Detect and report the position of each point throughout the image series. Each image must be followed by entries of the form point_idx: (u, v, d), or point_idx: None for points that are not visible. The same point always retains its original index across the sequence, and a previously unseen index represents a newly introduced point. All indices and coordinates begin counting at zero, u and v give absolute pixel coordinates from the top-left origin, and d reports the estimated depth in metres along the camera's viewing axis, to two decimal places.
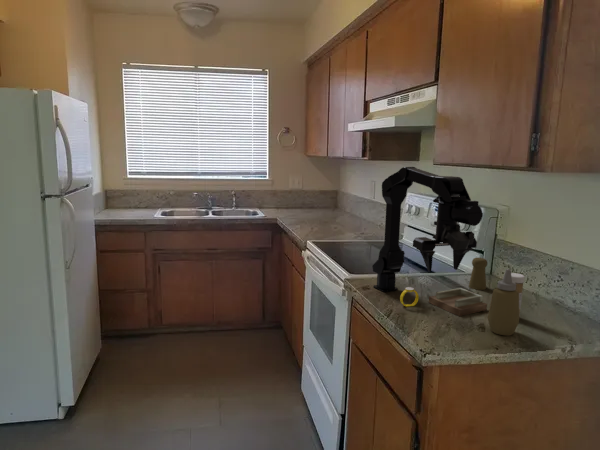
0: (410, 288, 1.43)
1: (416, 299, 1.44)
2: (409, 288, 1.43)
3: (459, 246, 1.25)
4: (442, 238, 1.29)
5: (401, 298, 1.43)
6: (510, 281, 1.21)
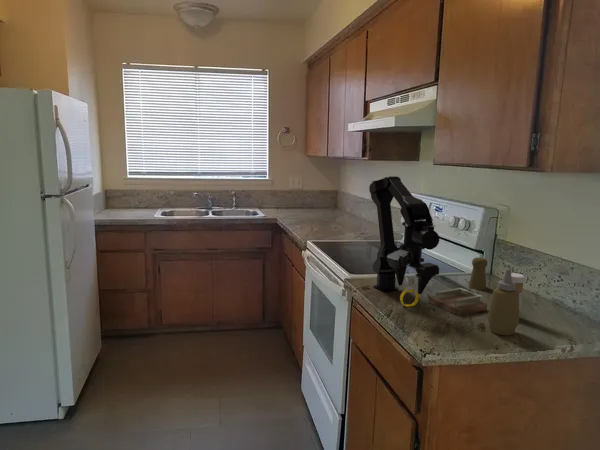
0: (410, 288, 1.43)
1: (416, 299, 1.44)
2: (409, 288, 1.43)
3: (390, 263, 1.39)
4: None
5: (401, 298, 1.43)
6: (510, 281, 1.21)
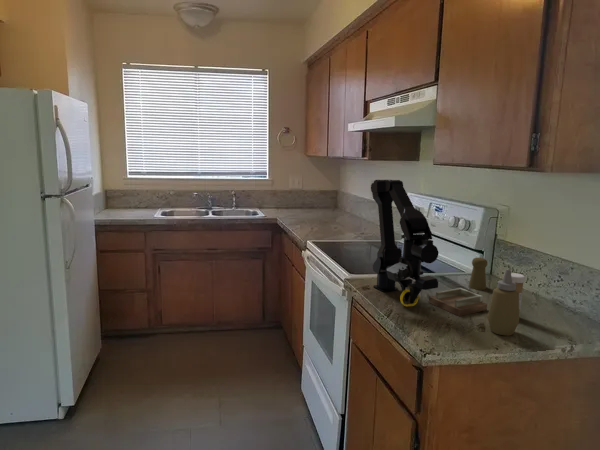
0: None
1: (416, 299, 1.44)
2: (409, 288, 1.43)
3: (389, 276, 1.39)
4: None
5: (401, 298, 1.43)
6: (510, 281, 1.21)
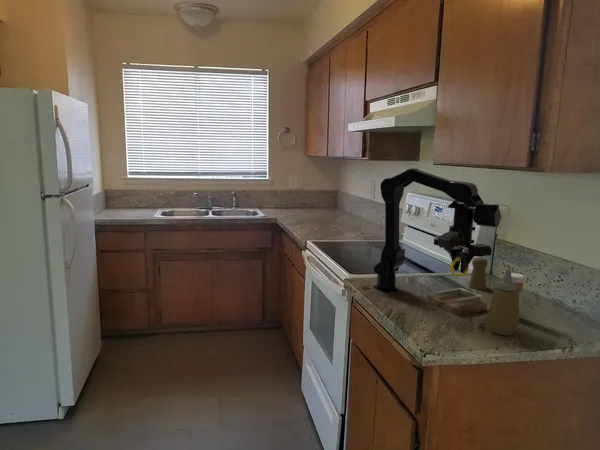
0: (460, 257, 1.41)
1: (466, 269, 1.43)
2: (459, 257, 1.41)
3: (440, 244, 1.38)
4: None
5: (451, 267, 1.41)
6: (510, 281, 1.21)
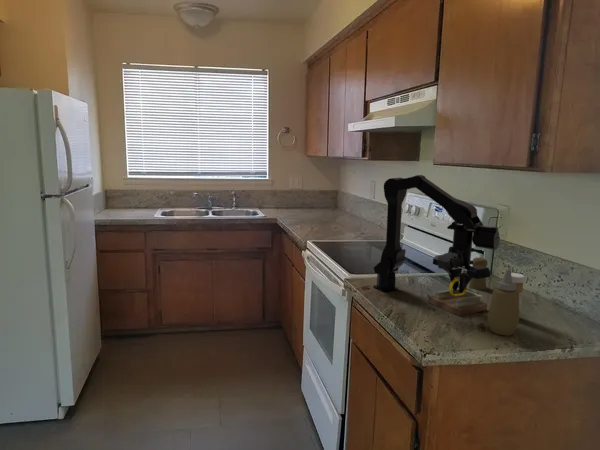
0: (459, 278, 1.43)
1: (465, 289, 1.44)
2: (458, 277, 1.43)
3: (439, 265, 1.39)
4: None
5: (450, 287, 1.42)
6: (510, 281, 1.21)
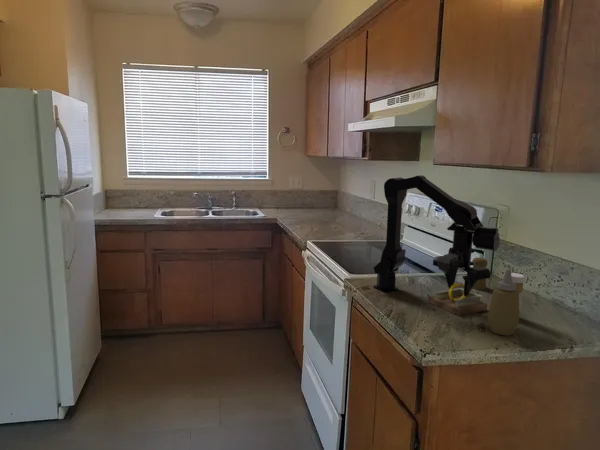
0: (459, 282, 1.43)
1: None
2: (458, 282, 1.43)
3: (440, 266, 1.39)
4: None
5: (450, 292, 1.43)
6: (510, 281, 1.21)
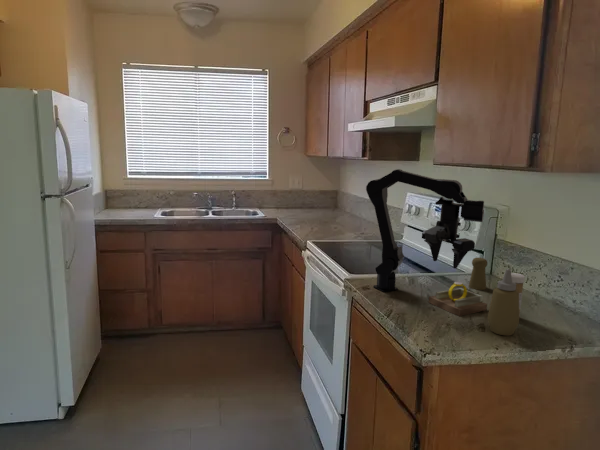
0: (459, 282, 1.43)
1: (464, 294, 1.44)
2: (458, 282, 1.43)
3: (427, 238, 1.46)
4: None
5: (450, 292, 1.43)
6: (510, 281, 1.21)
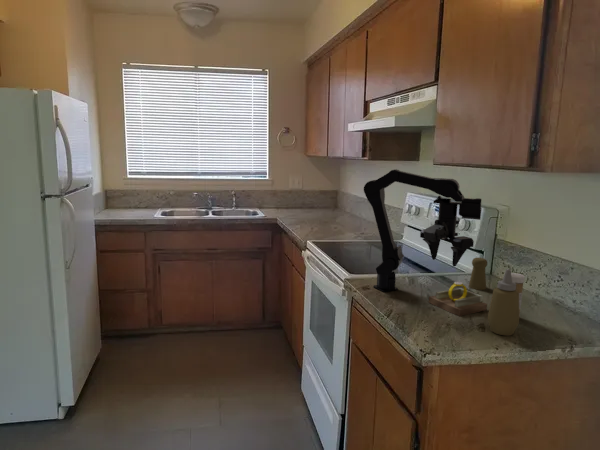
0: (459, 282, 1.43)
1: (464, 293, 1.44)
2: (458, 282, 1.43)
3: (426, 236, 1.46)
4: None
5: (450, 292, 1.43)
6: (510, 281, 1.21)
